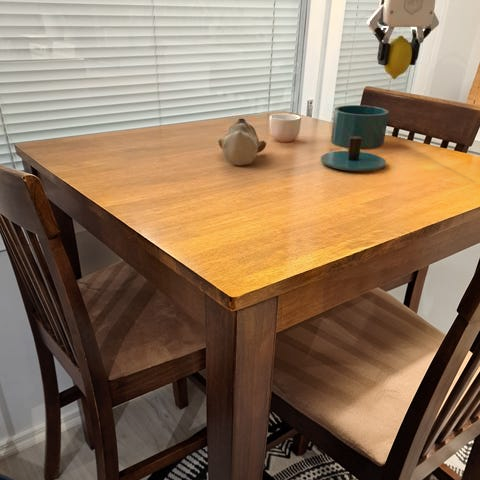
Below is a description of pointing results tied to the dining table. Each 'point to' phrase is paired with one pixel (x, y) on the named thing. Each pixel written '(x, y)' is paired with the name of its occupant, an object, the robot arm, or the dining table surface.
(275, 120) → the teacup
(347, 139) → the pot
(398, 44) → the lemon
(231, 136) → the ceramic sculpture
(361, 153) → the lid
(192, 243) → the dining table surface
